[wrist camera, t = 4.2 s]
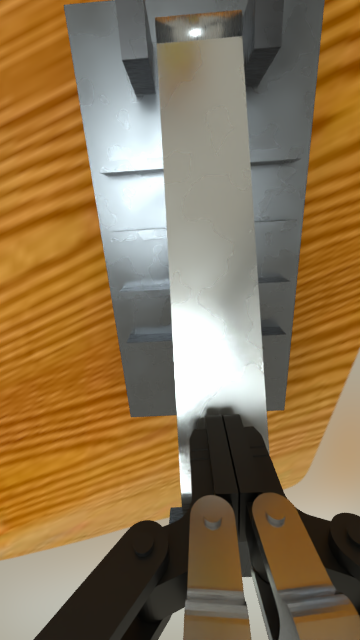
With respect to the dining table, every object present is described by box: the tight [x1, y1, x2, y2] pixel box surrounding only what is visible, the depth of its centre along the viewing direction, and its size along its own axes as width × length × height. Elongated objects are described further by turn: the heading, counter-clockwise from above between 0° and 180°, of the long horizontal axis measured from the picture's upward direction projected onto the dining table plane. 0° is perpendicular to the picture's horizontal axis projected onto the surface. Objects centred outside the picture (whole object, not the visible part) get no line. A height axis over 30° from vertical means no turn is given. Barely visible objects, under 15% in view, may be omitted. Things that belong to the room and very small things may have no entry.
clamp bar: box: [155, 10, 269, 577], centre depth 12 cm, size 5×25×2 cm, turn 4°
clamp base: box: [64, 0, 324, 417], centre depth 19 cm, size 14×28×6 cm, turn 4°
